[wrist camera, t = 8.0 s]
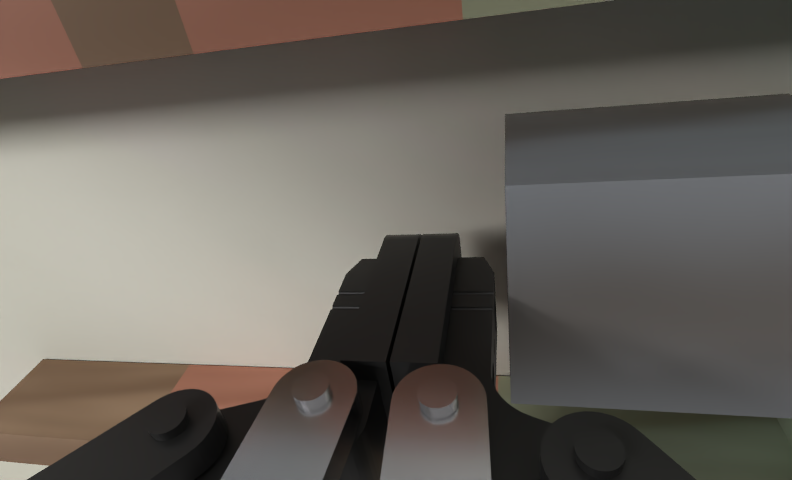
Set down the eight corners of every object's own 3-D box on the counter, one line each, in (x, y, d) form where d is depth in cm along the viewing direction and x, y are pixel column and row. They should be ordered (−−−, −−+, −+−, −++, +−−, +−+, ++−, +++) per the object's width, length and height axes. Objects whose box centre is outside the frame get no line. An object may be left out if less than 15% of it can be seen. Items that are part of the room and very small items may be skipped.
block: (505, 108, 10) (504, 185, 8) (780, 87, 9) (899, 168, 7) (509, 294, 13) (510, 403, 10) (724, 295, 12) (791, 418, 9)
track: (-209, 14, 12) (-392, 43, 10) (1104, -233, 6) (1478, -318, 4) (63, 387, 19) (-3, 460, 16) (811, 426, 13) (880, 545, 11)
